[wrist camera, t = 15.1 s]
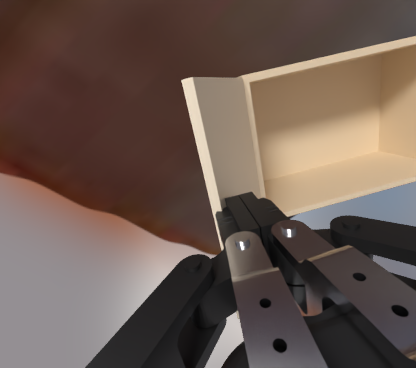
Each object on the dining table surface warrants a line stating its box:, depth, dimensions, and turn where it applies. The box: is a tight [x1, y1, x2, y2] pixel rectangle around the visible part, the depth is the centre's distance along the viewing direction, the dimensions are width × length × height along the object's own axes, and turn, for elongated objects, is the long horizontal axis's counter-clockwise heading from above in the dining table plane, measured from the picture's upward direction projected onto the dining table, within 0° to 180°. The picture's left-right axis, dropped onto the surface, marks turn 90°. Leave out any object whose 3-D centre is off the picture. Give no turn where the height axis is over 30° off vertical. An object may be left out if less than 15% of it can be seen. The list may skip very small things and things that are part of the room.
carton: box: [238, 36, 416, 217], centre depth 27 cm, size 22×14×10 cm, turn 102°
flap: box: [182, 77, 261, 319], centre depth 16 cm, size 11×14×1 cm
